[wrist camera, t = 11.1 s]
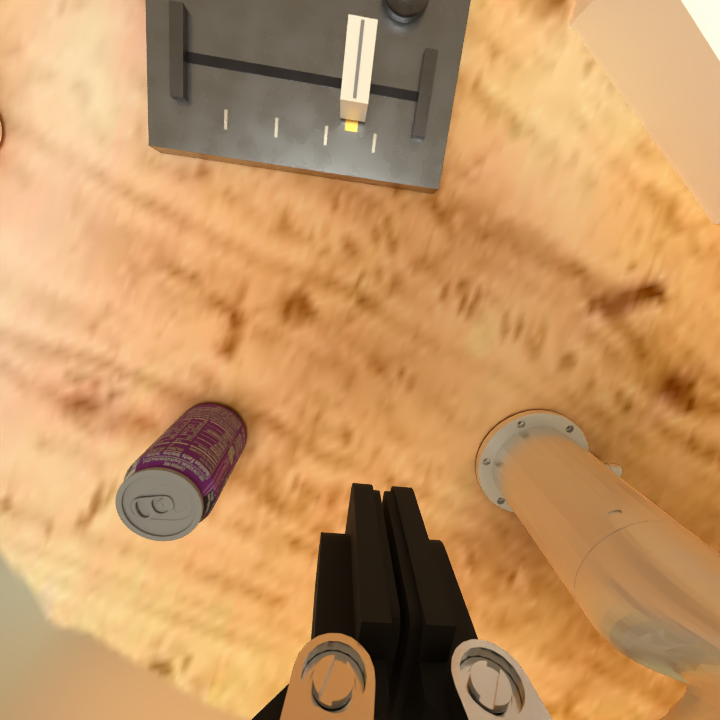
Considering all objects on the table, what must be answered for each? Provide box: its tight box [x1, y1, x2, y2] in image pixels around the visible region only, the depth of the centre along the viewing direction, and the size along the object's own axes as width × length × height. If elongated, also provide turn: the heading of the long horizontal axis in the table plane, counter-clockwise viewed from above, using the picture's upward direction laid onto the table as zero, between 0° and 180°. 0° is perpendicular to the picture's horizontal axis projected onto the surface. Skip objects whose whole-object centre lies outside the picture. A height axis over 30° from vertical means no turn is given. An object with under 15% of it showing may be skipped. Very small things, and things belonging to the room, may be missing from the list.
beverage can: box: [116, 404, 246, 541], centre depth 32 cm, size 7×7×12 cm
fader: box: [340, 14, 378, 122], centre depth 27 cm, size 2×5×4 cm, turn 173°
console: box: [146, 0, 470, 193], centre depth 28 cm, size 24×16×3 cm, turn 83°
